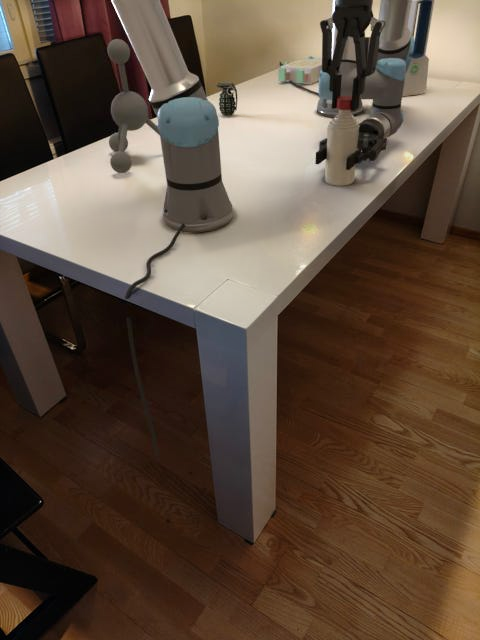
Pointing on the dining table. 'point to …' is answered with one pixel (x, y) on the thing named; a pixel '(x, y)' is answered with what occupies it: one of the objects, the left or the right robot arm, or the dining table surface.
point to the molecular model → (125, 110)
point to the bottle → (341, 148)
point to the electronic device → (418, 47)
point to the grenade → (227, 99)
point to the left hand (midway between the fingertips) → (345, 108)
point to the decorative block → (301, 71)
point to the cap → (344, 102)
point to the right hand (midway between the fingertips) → (332, 161)
